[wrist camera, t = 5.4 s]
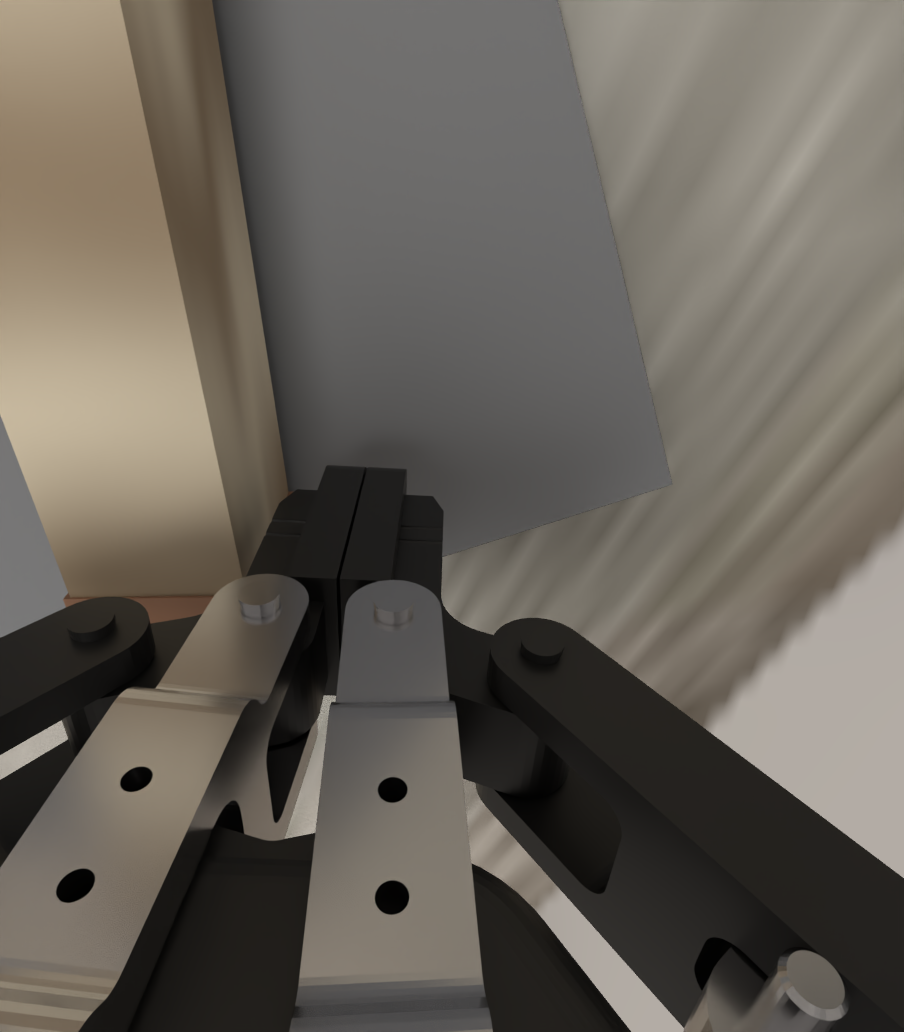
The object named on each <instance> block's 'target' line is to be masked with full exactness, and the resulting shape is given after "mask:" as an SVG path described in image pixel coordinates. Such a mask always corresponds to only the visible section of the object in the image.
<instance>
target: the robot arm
mask: <svg viewBox="0 0 904 1032" xmlns="http://www.w3.org/2000/svg"><path fill="white" fill-rule="evenodd" d="M443 518H444V511H443V509H442V508H441V507H440V505H439V504H438V502H437V501H436V500H435V498H434V497H433V496H421V495H407V469H398V468H379V467H368V468H366V467H357V466H339V465H327V466H326V468H325V470H324V473H323V476H322V479H321V481H320V484H319V487H318V490H302V489H297V490H295V491H294V492H293V493H291V494H290V495H289V496H288V497H286V498H285V499H284V500H282V501H281V502H280V503H279V505H278V507H277V509H276V511H275V513H274V516H273V518H272V522H270V524H269V527H268V529H267V531H266V536H264V538H263V540H262V542H261V544H260V546H259V549H258V551H257V553H256V555H255V557H254V560H253V562H252V564H251V566H250V569H249V571H248V573H247V575H246V577H243V578H240V579H237V580H235V581H233V582H231V583H229V584H227V585H226V586H224V587H223V588H221V589H220V590H219V591H218V592H217V593H216V594H215V596H214V597H213V598H212V600H211V601H210V603H209V605H208V606H207V608H206V609H205V611H204V613H203V614H199V615H196V616H192V617H187V618H181V619H175V620H169V621H163V622H157V623H151V624H150V619H149V615H148V612H147V610H146V608H145V607H144V606H143V605H142V604H140V603H138V602H137V601H134V600H132V599H128V598H123V597H99V598H93V599H89V600H85V601H81V602H78V603H75V604H73V605H70V606H68V607H66V608H64V609H61V610H59V611H57V612H55V613H53V614H51V615H48V616H46V617H44V618H42V619H40V620H38V621H35V622H33V623H31V624H29V625H27V626H25V627H22V628H20V629H18V630H16V631H14V632H12V633H9V634H7V635H5V636H3V637H1V638H0V755H1V754H3V753H5V752H6V751H8V750H10V749H12V748H13V747H15V746H17V745H19V744H20V743H22V742H24V741H26V740H27V739H29V738H31V737H33V736H34V735H36V734H38V733H40V732H41V731H43V730H45V729H47V728H48V727H50V726H52V725H54V724H55V723H57V722H59V721H61V720H62V722H63V725H64V728H65V731H66V734H67V736H68V740H67V741H65V742H63V743H62V744H60V745H58V746H57V747H55V748H53V749H51V750H50V751H48V752H46V753H45V754H43V755H41V756H40V757H38V758H36V759H35V760H33V761H31V762H30V763H28V764H26V765H25V766H23V767H21V768H20V769H18V770H16V771H15V772H13V773H11V774H9V775H8V776H6V777H4V778H3V779H1V780H0V1032H631V1031H630V1030H629V1028H628V1027H627V1026H626V1025H625V1023H624V1022H623V1021H622V1020H621V1018H620V1017H619V1016H618V1015H617V1013H616V1012H615V1011H614V1009H613V1008H612V1007H611V1005H610V1004H609V1003H608V1002H607V1000H606V999H605V998H604V997H603V995H602V994H601V993H600V991H599V990H598V989H597V988H596V986H595V985H594V984H593V983H592V981H591V980H590V979H589V977H588V976H587V975H586V974H585V972H584V971H583V970H582V969H581V967H580V966H579V965H578V963H577V962H576V961H575V960H574V958H573V957H572V956H571V955H570V953H569V952H568V951H567V950H566V948H565V947H564V946H563V944H562V943H561V942H560V940H559V939H558V938H557V937H556V935H555V934H554V933H553V932H552V930H551V929H550V928H549V926H548V925H547V924H546V923H545V921H544V920H543V919H542V918H541V917H540V915H539V914H538V913H537V912H536V911H535V909H534V908H533V907H532V906H531V905H530V904H528V903H527V902H526V901H525V900H524V899H523V898H522V897H521V896H520V895H519V894H518V893H517V892H516V891H515V890H513V889H512V888H511V887H509V886H508V885H507V884H506V883H504V882H503V881H502V880H500V879H499V878H497V877H495V876H494V875H492V874H490V873H489V872H487V871H485V870H484V869H482V868H480V867H478V866H476V865H474V864H472V863H471V854H470V844H469V834H468V824H467V813H466V803H465V793H464V783H463V779H466V780H469V781H472V782H475V783H476V789H477V792H478V795H479V797H480V799H481V800H482V802H483V803H484V804H485V806H486V807H487V808H488V809H489V810H490V811H491V812H492V814H493V815H494V816H495V817H496V818H497V819H498V820H499V821H500V823H501V824H502V825H503V826H504V827H505V828H506V829H507V830H508V832H509V833H510V834H511V835H512V836H513V837H514V838H515V839H516V840H517V842H518V843H519V844H520V845H521V846H522V847H523V848H524V849H525V851H526V852H527V853H528V854H529V855H530V856H531V857H532V858H533V859H534V861H535V862H536V863H537V864H538V865H539V866H540V867H541V868H542V870H543V871H544V872H545V873H546V874H547V875H548V876H549V877H550V879H551V880H552V881H553V882H554V883H555V884H556V885H557V886H558V887H559V889H560V890H561V891H562V892H563V893H564V894H565V895H566V896H567V898H568V899H570V901H571V902H572V903H573V904H574V905H575V907H576V908H577V909H578V910H579V911H580V912H581V913H582V914H583V915H584V917H585V918H586V919H587V920H588V921H589V922H590V923H591V924H592V926H593V927H594V928H595V929H596V930H597V931H598V932H599V933H600V935H601V936H602V937H603V938H604V939H605V940H606V941H607V942H608V943H609V945H610V946H611V947H612V948H613V949H614V950H615V951H616V952H617V953H618V955H619V956H620V957H621V958H622V959H623V960H624V961H625V962H626V964H627V965H628V966H629V967H630V968H631V969H632V970H633V971H634V972H635V974H636V975H637V976H638V977H639V978H640V979H641V980H642V982H643V983H644V984H645V985H646V986H647V987H648V988H649V989H650V990H651V992H652V993H653V994H654V995H655V996H656V997H657V998H658V999H659V1000H660V1002H661V1003H662V1004H663V1005H664V1006H665V1007H666V1008H667V1009H668V1011H669V1012H670V1013H671V1014H672V1015H673V1016H674V1017H675V1018H676V1020H677V1021H678V1022H679V1023H680V1024H681V1025H682V1026H683V1027H684V1032H904V878H903V877H901V876H900V875H899V874H897V873H896V872H895V871H893V870H892V869H891V868H889V867H888V866H886V865H885V864H884V863H883V862H881V861H880V860H879V859H877V858H876V857H875V856H873V855H872V854H871V853H869V852H868V851H867V850H865V849H864V848H863V847H861V846H860V845H859V844H857V843H856V842H855V841H853V840H852V839H851V838H849V837H848V836H847V835H845V834H844V833H843V832H841V831H840V830H839V829H837V828H836V827H835V826H833V825H832V824H831V823H830V822H828V821H827V820H826V819H824V818H823V817H822V816H820V815H819V814H818V813H816V812H815V811H814V810H812V809H811V808H810V807H808V806H807V805H806V804H804V803H803V802H802V801H800V800H799V799H798V798H796V797H795V796H793V795H792V794H791V793H790V792H788V791H787V790H786V789H784V788H783V787H782V786H780V785H779V784H778V783H776V782H775V781H774V780H772V779H771V778H770V777H768V776H767V775H766V774H764V773H763V772H762V771H760V770H759V769H758V768H756V767H755V766H754V765H752V764H751V763H750V762H748V761H747V760H746V759H744V758H743V757H741V756H740V755H739V754H738V753H736V752H735V751H734V750H732V749H731V748H730V747H728V746H727V745H726V744H724V743H723V742H722V741H721V740H719V739H717V737H715V736H714V735H713V734H711V733H710V732H709V731H707V730H706V729H705V728H703V727H702V726H701V725H699V724H698V723H697V722H695V721H694V720H693V719H691V718H690V717H689V716H687V715H686V714H685V713H683V712H682V711H681V710H679V709H678V708H677V707H675V706H674V705H673V704H671V703H670V702H669V701H667V700H666V699H665V698H663V697H662V696H661V695H659V694H658V693H657V692H655V691H654V690H653V689H651V688H650V687H649V686H647V685H646V684H645V683H643V682H642V681H641V680H639V679H638V678H637V677H635V676H634V675H633V674H631V673H630V672H629V671H627V670H626V669H625V668H623V667H622V666H621V665H619V664H618V663H617V662H616V661H614V660H613V659H612V658H610V657H609V656H608V655H606V654H605V653H604V652H602V651H601V650H600V649H598V648H597V647H596V646H594V645H593V644H592V643H590V642H589V641H588V640H586V639H585V638H584V637H582V636H581V635H580V634H578V633H577V632H576V631H574V630H572V629H571V628H569V627H567V626H565V625H563V624H561V623H558V622H555V621H552V620H547V619H541V618H525V619H519V620H514V621H512V622H509V623H507V624H505V625H504V626H502V627H501V628H499V629H498V630H497V631H496V633H495V634H494V635H491V634H487V633H484V632H480V631H477V630H474V629H471V628H469V627H467V626H465V625H463V624H461V623H460V622H458V621H457V620H455V619H454V618H453V617H452V616H451V615H450V614H449V613H448V612H447V611H446V609H445V607H444V606H443V603H442V600H441V579H442V548H443ZM324 695H333V696H336V702H332V703H331V705H330V710H329V717H328V725H327V734H326V743H325V752H324V761H323V770H322V779H321V788H320V797H319V806H318V815H317V824H316V833H313V834H308V835H303V836H298V837H293V838H288V839H285V836H286V832H287V829H288V826H289V823H290V820H291V817H292V814H293V811H294V808H295V804H296V801H297V798H298V795H299V792H300V789H301V786H302V783H303V779H304V776H305V773H306V770H307V767H308V764H309V761H310V758H311V754H312V751H313V748H314V745H315V742H316V739H317V734H318V725H317V718H318V716H319V713H320V709H321V705H322V700H323V696H324Z"/></svg>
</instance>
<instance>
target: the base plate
mask: <svg viewBox="0 0 904 1032" xmlns="http://www.w3.org/2000/svg"><path fill="white" fill-rule="evenodd" d="M212 4H213V10H214V17H215V23H216V30H217V36H218V43H219V49H220V55H221V62H222V68H223V75H224V81H225V87H226V94H227V100H228V107H229V113H230V120H231V126H232V132H233V139H234V145H235V152H236V158H237V164H238V171H239V177H240V184H241V190H242V197H243V203H244V209H245V216H246V222H247V229H248V235H249V242H250V248H251V254H252V261H253V267H254V274H255V280H256V286H257V293H258V299H259V306H260V312H261V319H262V325H263V331H264V338H265V344H266V351H267V357H268V363H269V370H270V376H271V383H272V389H273V396H274V402H275V408H276V415H277V421H278V428H279V434H280V440H281V447H282V453H283V460H284V466H285V473H286V479H287V485H288V491H295V490H297V489H302V490H318V487H319V484H320V481H321V479H322V476H323V473H324V470H325V468H326V466H327V465H339V466H357V467H366V468H368V467H379V468H398V469H407V495H421V496H433V497H434V498H435V500H436V501H437V502H438V504H439V505H440V507H441V508H442V509H443V511H444V518H443V548H442V557H444V556H447V555H450V554H453V553H457V552H460V551H463V550H466V549H469V548H472V547H476V546H479V545H482V544H485V543H488V542H491V541H495V540H498V539H501V538H504V537H507V536H510V535H514V534H517V533H520V532H523V531H526V530H529V529H533V528H536V527H539V526H542V525H545V524H548V523H552V522H555V521H558V520H561V519H564V518H567V517H571V516H574V515H577V514H580V513H583V512H586V511H590V510H593V509H596V508H599V507H602V506H605V505H609V504H612V503H615V502H618V501H621V500H624V499H628V498H631V497H634V496H637V495H640V494H643V493H647V492H650V491H653V490H656V489H659V488H663V487H666V486H669V485H672V481H671V476H670V472H669V468H668V464H667V460H666V455H665V451H664V447H663V443H662V438H661V434H660V430H659V426H658V422H657V417H656V413H655V409H654V405H653V400H652V396H651V392H650V388H649V384H648V379H647V375H646V371H645V367H644V362H643V358H642V354H641V350H640V346H639V341H638V337H637V333H636V329H635V324H634V320H633V316H632V312H631V307H630V303H629V299H628V295H627V291H626V286H625V282H624V278H623V274H622V269H621V265H620V261H619V257H618V253H617V248H616V244H615V240H614V236H613V231H612V227H611V223H610V219H609V215H608V210H607V206H606V202H605V198H604V193H603V189H602V185H601V181H600V177H599V172H598V168H597V164H596V160H595V155H594V151H593V147H592V143H591V138H590V134H589V130H588V126H587V122H586V117H585V113H584V109H583V105H582V100H581V96H580V92H579V88H578V84H577V79H576V75H575V71H574V67H573V62H572V58H571V54H570V50H569V46H568V41H567V37H566V33H565V29H564V24H563V20H562V16H561V12H560V7H559V3H558V0H212ZM67 594H68V591H67V588H66V585H65V583H64V580H63V577H62V575H61V572H60V570H59V567H58V564H57V562H56V559H55V557H54V554H53V551H52V549H51V546H50V544H49V541H48V538H47V536H46V533H45V530H44V528H43V525H42V523H41V520H40V517H39V515H38V512H37V510H36V507H35V504H34V502H33V499H32V496H31V494H30V491H29V489H28V486H27V483H26V481H25V478H24V476H23V473H22V470H21V468H20V465H19V462H18V460H17V457H16V455H15V452H14V449H13V447H12V444H11V442H10V439H9V436H8V434H7V431H6V429H5V426H4V423H3V421H2V418H1V415H0V638H1V637H3V636H5V635H7V634H9V633H12V632H14V631H16V630H18V629H20V628H22V627H25V626H27V625H29V624H31V623H33V622H35V621H38V620H40V619H42V618H44V617H46V616H48V615H51V614H53V613H55V612H57V611H59V610H61V609H64V608H66V606H65V604H64V601H63V599H64V597H65V596H66V595H67Z"/></svg>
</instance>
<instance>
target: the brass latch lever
mask: <svg viewBox="0 0 904 1032" xmlns="http://www.w3.org/2000/svg"><path fill="white" fill-rule="evenodd" d="M0 415H1V418H2V421H3V423H4V426H5V429H6V431H7V434H8V436H9V439H10V442H11V444H12V447H13V449H14V452H15V455H16V457H17V460H18V462H19V465H20V468H21V470H22V473H23V476H24V478H25V481H26V483H27V486H28V489H29V491H30V494H31V496H32V499H33V502H34V504H35V507H36V510H37V512H38V515H39V517H40V520H41V523H42V525H43V528H44V530H45V533H46V536H47V538H48V541H49V544H50V546H51V549H52V551H53V554H54V557H55V559H56V562H57V564H58V567H59V570H60V572H61V575H62V577H63V580H64V583H65V585H66V588H67V591H68V594H67V595H66V596H65V597H64V599H63V601H64V604H65V606H66V607H68V606H70V605H73V604H75V603H78V602H81V601H85V600H89V599H93V598H99V597H123V598H128V599H132V600H134V601H137V602H138V603H140V604H142V605H143V606H144V607H145V608H146V610H147V612H148V615H149V619H150V624H151V623H157V622H163V621H169V620H175V619H181V618H187V617H192V616H196V615H199V614H203V613H204V611H205V609H206V608H207V606H208V605H209V603H210V601H211V600H212V598H213V597H214V596H215V594H216V593H217V592H218V591H219V590H220V589H221V588H223V587H224V586H226V585H227V584H229V583H231V582H233V581H235V580H237V579H240V578H243V577H246V575H247V573H248V571H249V569H250V566H251V564H252V562H253V560H254V557H255V555H256V553H257V551H258V549H259V546H260V544H261V542H262V540H263V538H264V536H266V531H267V529H268V527H269V524H270V522H272V518H273V516H274V513H275V511H276V509H277V507H278V505H279V503H280V502H281V501H282V500H284V499H285V498H286V497H288V496H289V495H290V494H291V493H293V492H294V491H288V485H287V479H286V473H285V466H284V460H283V453H282V447H281V440H280V434H279V428H278V421H277V415H276V408H275V402H274V396H273V389H272V383H271V376H270V370H269V363H268V357H267V351H266V344H265V338H264V331H263V325H262V319H261V312H260V306H259V299H258V293H257V286H256V280H255V274H254V267H253V261H252V254H251V248H250V242H249V235H248V229H247V222H246V216H245V209H244V203H243V197H242V190H241V184H240V177H239V171H238V164H237V158H236V152H235V145H234V139H233V132H232V126H231V120H230V113H229V107H228V100H227V94H226V87H225V81H224V75H223V68H222V62H221V55H220V49H219V43H218V36H217V30H216V23H215V17H214V10H213V4H212V0H0Z"/></svg>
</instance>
